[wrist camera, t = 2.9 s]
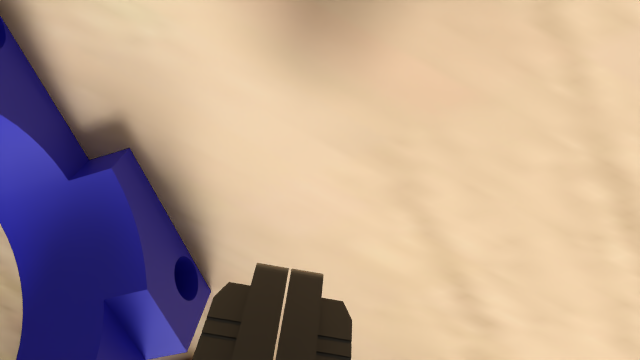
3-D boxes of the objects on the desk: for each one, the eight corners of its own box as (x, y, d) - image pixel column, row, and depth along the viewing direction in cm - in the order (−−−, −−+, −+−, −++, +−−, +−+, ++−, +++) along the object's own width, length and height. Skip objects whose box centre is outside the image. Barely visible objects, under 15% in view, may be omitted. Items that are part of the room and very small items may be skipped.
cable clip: (212, 287, 19) (152, 439, 14) (107, 310, 20) (16, 459, 15) (21, -52, 14) (-187, -8, 9) (-107, 3, 15) (-358, 72, 10)
